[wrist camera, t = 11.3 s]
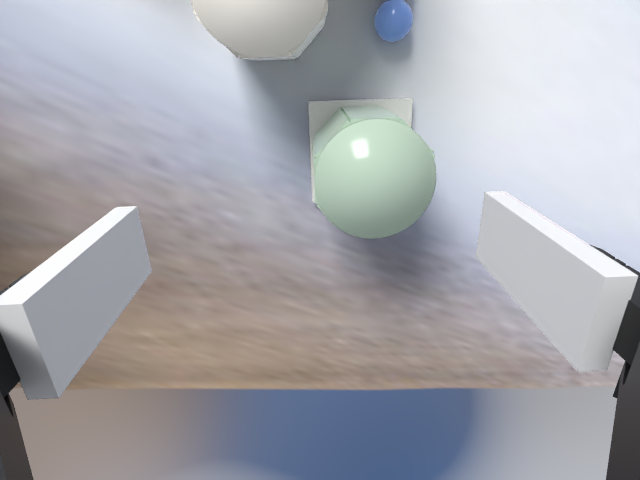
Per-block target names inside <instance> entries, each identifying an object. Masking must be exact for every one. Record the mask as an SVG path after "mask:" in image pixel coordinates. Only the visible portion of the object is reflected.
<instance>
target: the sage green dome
mask: <svg viewBox="0 0 640 480" xmlns="http://www.w3.org/2000/svg"><path fill="white" fill-rule="evenodd" d="M341 108H342V109H341ZM341 108H340V107H339V108H338V110H337V111H336V112H335V113H334V114H333V115H332V116H331V117H330V118H329V119H328V121H327V122H326V123H325V124H324V125H323V126H322V127H321V128H320V129H319V130H318V131H317V133H316V134H315V135H314V155H313V159H314V186H315V204H316V206H317V207H318V208H319V209H320V210H321V211H322V212H323V213H324V215H325V216H326V217H327V219H328V220H329V221H330V222H331V223H332V224H333V225H334V226H336V227H337V228H338V229H340V230H342V231H343V232H345V233H347V234H350V235H352V236H356V237H360V238H366V239H376V238H384V237H388V236H391V235H394V234H397V233H399V232H401V231H403V230H405V229H406V228H408V227H409V226H411V225H412V224H413V223H414V222H416V221H417V220H418V219H419V218H420V217H421V215H422V214H423V213H424V211H425V210H426V208H427V207H428V205H429V203H430V201H431V199H432V197H433V193H434V190H435V185H436V166H435V162H434V158H435V154H433V151H432V149H431V148H430V147H429V146H428V145H427V144H426V143H425V141H424V140H423V139H422V138H421V137H420V136H419V135H418V134H417V133H416V132H415V131H414V130H413V129H412V128H411V127H410V126H409V125H408V124H407V123H406V122H405V121H404V120H403V119H402V118H401V117H399V116H397V115H395V114H394V113H392V112H390V111H389V110H387V109H385V108H383V107H382V106H379V105H365V106H341Z"/></svg>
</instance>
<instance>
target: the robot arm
mask: <svg viewBox="0 0 640 480" xmlns="http://www.w3.org/2000/svg"><path fill="white" fill-rule="evenodd" d="M476 258H477V259H478V260H479V261H480V263H481V264H482V265H483V266H484V267H485V268H486V269H487V270H488V272H489V273H490V274H491V275H492V276H493V277H494V278H495V279H496V281H497V282H498V283H499V284H500V285H501V286H502V287H503V288H504V290H505V291H506V292H507V293H508V294H509V295H510V296H511V297H512V299H513V300H514V301H515V302H516V303H517V304H518V305H519V306H520V307H521V309H522V310H523V311H524V312H525V313H526V314H527V315H528V316H529V318H530V319H531V320H532V321H533V322H534V323H535V324H536V325H537V327H538V328H539V329H540V330H541V331H542V332H543V333H544V334H545V336H546V337H547V338H548V339H549V340H550V341H551V342H552V343H553V345H554V346H555V347H556V348H557V349H558V350H559V351H560V352H561V354H562V355H563V356H564V357H565V358H566V359H567V360H568V361H569V363H570V364H571V365H572V366H573V367H574V368H575V369H576V370H577V372H581V371H600V370H607V369H608V366H609V363H610V360H611V357H612V354H613V351H615V352H616V353H618V354H619V355H620V356H621V357H622V358H623V359H624V360H625V363H624V366H623V369H622V371H621V374H620V377H619V380H618V383H617V386H616V388H615V391H614V394H613V397H615V398H617V405H616V412H615V419H614V426H613V434H612V441H611V448H610V455H609V462H608V469H607V476H606V480H640V273H639V272H638V271H636V270H634V269H633V268H631V267H630V266H626V264H625V263H623V262H622V261H620V260H618V259H615V257H614V256H612V255H610V254H609V253H607V252H605V251H604V250H602V249H600V248H597V247H595V246H592V245H589V244H587V243H586V242H584V241H583V240H581V239H579V238H578V237H576V236H575V235H573V234H571V233H570V232H568V231H567V230H565V229H564V228H562V227H560V226H559V225H557V224H556V223H554V222H553V221H551V220H549V219H548V218H546V217H545V216H543V215H541V214H540V213H538V212H537V211H535V210H534V209H532V208H530V207H529V206H527V205H526V204H524V203H522V202H521V201H519V200H518V199H516V198H515V197H513V196H511V195H510V194H508V193H507V192H505V191H499V192H485V194H484V201H483V208H482V215H481V222H480V229H479V236H478V243H477V250H476ZM151 272H152V270H151V266H150V261H149V257H148V252H147V248H146V244H145V239H144V235H143V231H142V226H141V222H140V217H139V213H138V209H137V206H132V207H116V208H114V209H113V210H112V211H111V212H109V213H108V214H107V215H105V216H104V217H103V218H101V219H100V220H99V221H97V222H96V223H95V224H93V225H92V226H91V227H90V228H88V229H87V230H86V231H84V232H83V233H82V234H80V235H79V236H78V237H76V238H75V239H74V240H72V241H71V242H70V243H68V244H67V245H66V246H65V247H63V248H62V249H61V250H59V251H58V252H57V253H55V254H54V255H53V256H51V257H50V258H49V259H47V260H46V261H45V262H44V263H42V264H41V265H40V266H38V267H37V268H36V269H34V270H33V271H31V272H29V273H27V274H25V275H23V276H21V277H20V278H18V279H17V280H16V281H14V282H13V283H12V284H10V285H9V288H5V289H4V290H2V291H1V292H0V480H33V476H32V473H31V469H30V465H29V461H28V457H27V453H26V450H25V446H24V442H23V438H22V434H21V431H20V427H19V423H18V419H17V415H16V412H15V408H14V404H13V402H12V400H11V398H10V395H9V392H10V391H11V390H12V389H13V388H14V387H15V385H16V384H17V383H18V382H19V381H20V383H21V385H22V388H23V390H24V392H25V395H26V397H27V399H28V400H29V399H49V398H59V397H60V396H61V394H62V393H63V392H64V390H65V389H66V388H67V386H68V385H69V383H70V382H71V381H72V379H73V378H74V377H75V375H76V374H77V373H78V371H79V370H80V369H81V367H82V366H83V364H84V363H85V362H86V360H87V359H88V358H89V356H90V355H91V354H92V352H93V351H94V349H95V348H96V347H97V345H98V344H99V343H100V341H101V340H102V339H103V337H104V336H105V334H106V333H107V332H108V330H109V329H110V328H111V326H112V325H113V324H114V322H115V321H116V320H117V318H118V317H119V315H120V314H121V313H122V311H123V310H124V309H125V307H126V306H127V305H128V303H129V302H130V300H131V299H132V298H133V296H134V295H135V294H136V292H137V291H138V290H139V288H140V287H141V285H142V284H143V283H144V281H145V280H146V279H147V277H148V276H149V275H150V273H151Z"/></svg>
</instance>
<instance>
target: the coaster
mask: <svg viewBox="0 0 640 480" xmlns="http://www.w3.org/2000/svg"><path fill="white" fill-rule="evenodd" d="M365 105H379V106H382V107H383V108H385V109H387V110H389V111H390V112H392V113H394V114H395V115H397V116H399V117H401V118H402V119H403V120H404V121H405V122H406V123H407V124H408V125H409V126H410V127H411V124H412V107H413V98H387V99H358V100H329V101H308V111H309V135H310V159H311V183H312V202H315V186H314V159H313V155H314V135H315V134H316V133H317V131H318V130H319V129H320V128H321V127H322V126H323V125H324V124H325V123H326V122H327V121H328V119H329V118H330V117H331V116H332V115H333V114H334V113H335V112H336V111H337V110H338V108H339V107H340V108H341V106H365ZM341 109H342V108H341Z"/></svg>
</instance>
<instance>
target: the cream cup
mask: <svg viewBox="0 0 640 480" xmlns="http://www.w3.org/2000/svg"><path fill="white" fill-rule="evenodd" d="M191 3H192V6H193V11H194V15H196V16H197V17H196V19H197V20H198V21H200V22H201V23H202V24H203V25H204V27H205V28H206V29H207V30H208V31H209V33H210V34H211V35H212V36H213V37H214V38H215V39H217V40H218V41H219V42H220V43H221V44H223V45H224V46H226V47H227V48H228V49H229V50H230V51H231V52H232V53H233V54H234V55H235V56H236V57H239V58H241V59H249V60H258V61H260V60H289V59H296V57H297V58H298V57H299V56H300V55H301V54H302V53H303V51H304V50H305V49H306V48H307V47H308V45H309V44H310V43H311V42H312V41H313V39H314V38H315V37H316V36H317V35H318V33H319V32H320V31H321V30H322V29H323V27H324V25H325V21H326V17H327V13H328V0H191Z"/></svg>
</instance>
